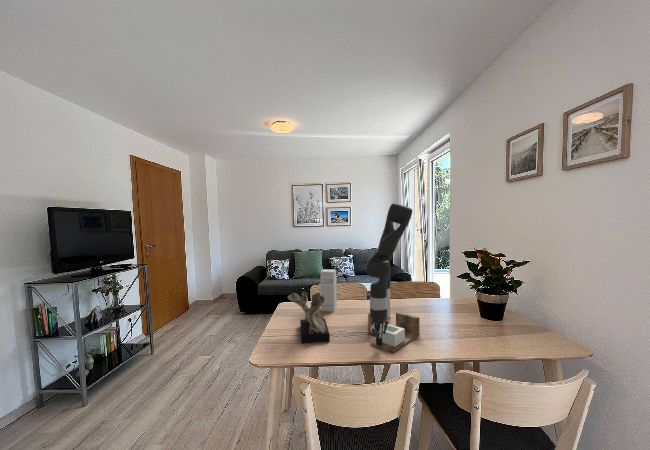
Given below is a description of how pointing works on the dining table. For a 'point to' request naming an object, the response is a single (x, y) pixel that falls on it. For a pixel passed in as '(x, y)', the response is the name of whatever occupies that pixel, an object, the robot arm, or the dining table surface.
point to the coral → (311, 319)
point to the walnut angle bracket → (411, 331)
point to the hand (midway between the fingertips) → (379, 345)
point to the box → (328, 290)
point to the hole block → (393, 335)
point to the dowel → (369, 323)
